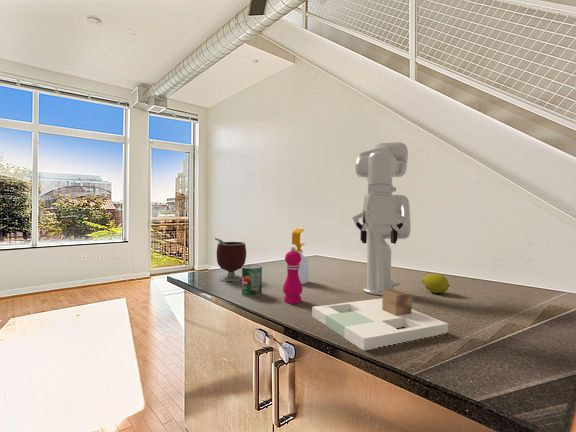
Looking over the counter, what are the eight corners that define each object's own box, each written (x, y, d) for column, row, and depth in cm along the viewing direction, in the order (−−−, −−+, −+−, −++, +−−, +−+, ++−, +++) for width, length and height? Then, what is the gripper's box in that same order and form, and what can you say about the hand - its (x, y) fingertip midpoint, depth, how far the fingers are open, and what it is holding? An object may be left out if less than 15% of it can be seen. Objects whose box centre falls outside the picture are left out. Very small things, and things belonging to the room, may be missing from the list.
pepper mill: (300, 304, 117) (301, 248, 116) (280, 303, 118) (281, 247, 117) (303, 299, 124) (304, 246, 123) (284, 297, 125) (285, 245, 125)
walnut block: (397, 307, 104) (397, 288, 104) (411, 313, 99) (411, 293, 99) (382, 309, 102) (382, 290, 102) (395, 315, 97) (396, 295, 96)
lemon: (453, 294, 133) (453, 274, 133) (443, 297, 129) (444, 277, 128) (428, 288, 142) (428, 270, 142) (418, 291, 137) (418, 272, 137)
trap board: (383, 306, 115) (383, 298, 115) (447, 334, 91) (448, 323, 91) (312, 316, 104) (312, 306, 104) (363, 350, 80) (363, 338, 79)
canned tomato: (265, 293, 132) (265, 265, 131) (253, 297, 125) (254, 268, 125) (249, 290, 136) (250, 263, 135) (237, 294, 129) (237, 266, 129)
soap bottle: (311, 281, 153) (312, 228, 152) (301, 285, 145) (302, 230, 145) (295, 279, 158) (295, 228, 157) (284, 282, 150) (285, 229, 149)
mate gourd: (236, 274, 166) (236, 235, 166) (251, 279, 156) (252, 237, 155) (208, 278, 156) (208, 236, 156) (222, 284, 146) (222, 239, 145)
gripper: (401, 191, 111) (400, 242, 111) (350, 190, 110) (349, 241, 110) (410, 190, 103) (409, 244, 104) (356, 189, 103) (355, 244, 103)
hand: (378, 243), depth 107 cm, fingers open, 9 cm apart
